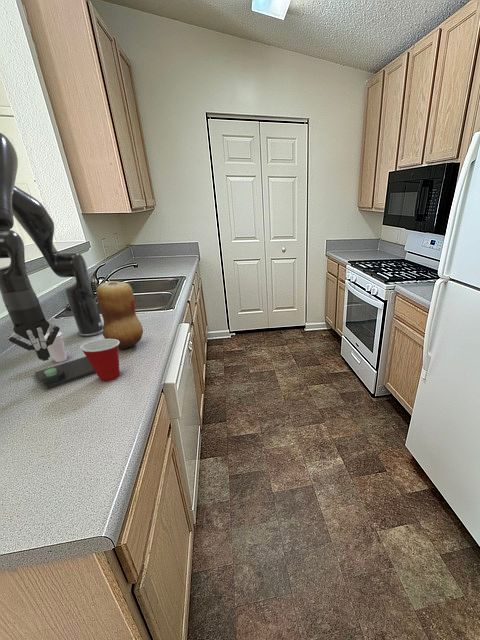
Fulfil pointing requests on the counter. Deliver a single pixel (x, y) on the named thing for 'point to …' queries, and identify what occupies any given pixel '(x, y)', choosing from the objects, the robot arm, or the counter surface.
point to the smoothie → (57, 348)
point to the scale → (66, 373)
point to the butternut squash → (119, 313)
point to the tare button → (51, 372)
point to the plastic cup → (103, 357)
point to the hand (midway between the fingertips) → (45, 359)
